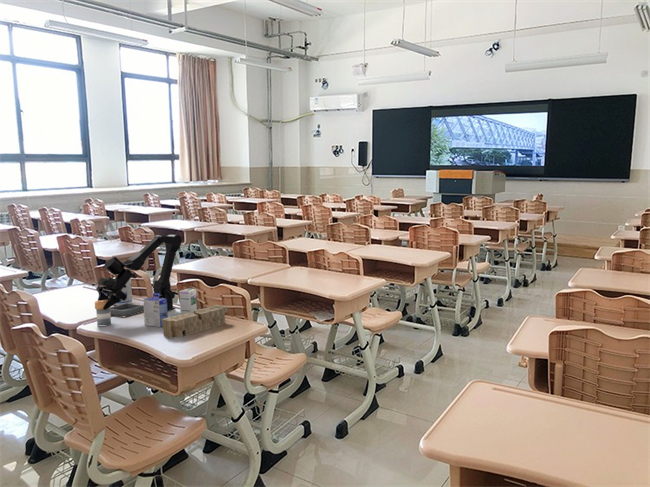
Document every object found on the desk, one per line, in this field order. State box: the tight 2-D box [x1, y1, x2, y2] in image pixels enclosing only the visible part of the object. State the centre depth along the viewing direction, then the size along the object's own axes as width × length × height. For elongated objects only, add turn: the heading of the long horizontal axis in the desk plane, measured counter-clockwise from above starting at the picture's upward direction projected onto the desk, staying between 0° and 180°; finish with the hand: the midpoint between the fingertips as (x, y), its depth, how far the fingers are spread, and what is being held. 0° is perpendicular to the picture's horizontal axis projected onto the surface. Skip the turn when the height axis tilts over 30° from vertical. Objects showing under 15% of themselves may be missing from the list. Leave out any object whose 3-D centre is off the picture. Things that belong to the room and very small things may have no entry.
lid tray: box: [110, 303, 144, 317], centre depth 249 cm, size 12×12×3 cm
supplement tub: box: [113, 277, 133, 306], centre depth 268 cm, size 10×10×15 cm
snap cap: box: [94, 300, 111, 310], centre depth 227 cm, size 7×7×3 cm
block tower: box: [162, 304, 228, 339], centre depth 217 cm, size 8×8×29 cm
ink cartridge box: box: [142, 292, 169, 328], centre depth 225 cm, size 10×6×14 cm, turn 65°
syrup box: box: [179, 288, 199, 315], centre depth 233 cm, size 6×6×14 cm
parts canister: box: [95, 307, 112, 326], centre depth 228 cm, size 6×6×8 cm
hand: (100, 308), depth 226 cm, fingers closed on snap cap, 7 cm apart
